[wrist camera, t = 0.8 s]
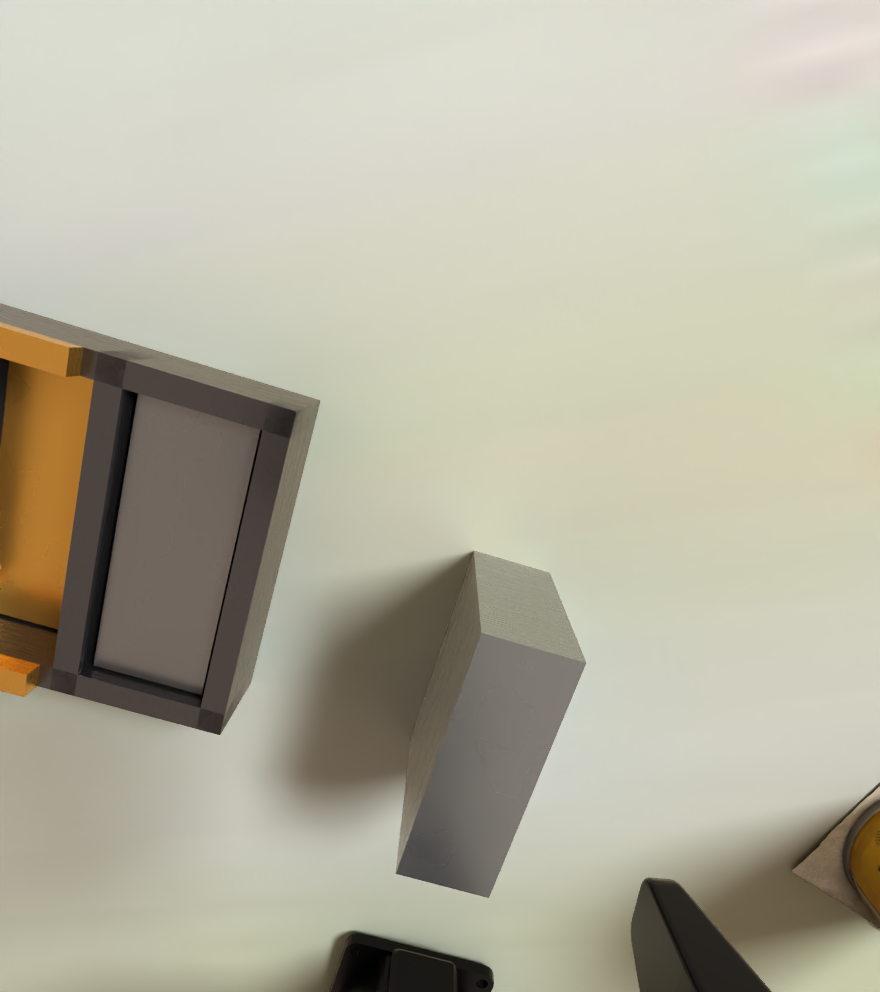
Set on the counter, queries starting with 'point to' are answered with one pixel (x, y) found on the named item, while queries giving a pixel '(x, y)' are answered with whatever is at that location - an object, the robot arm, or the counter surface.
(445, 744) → the grey rectangular block
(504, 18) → the counter surface
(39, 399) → the rack
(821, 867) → the condiment
